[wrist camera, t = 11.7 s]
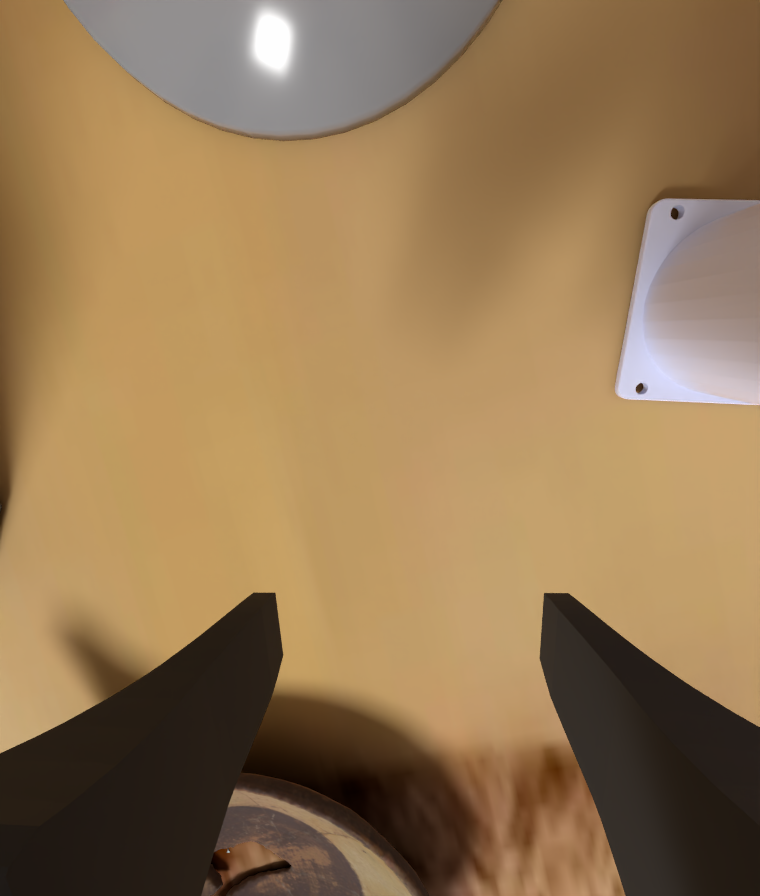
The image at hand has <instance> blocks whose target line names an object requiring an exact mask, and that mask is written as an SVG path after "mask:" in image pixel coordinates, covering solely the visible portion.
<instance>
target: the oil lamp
mask: <svg viewBox="0 0 760 896" xmlns="http://www.w3.org/2000/svg"><path fill="white" fill-rule="evenodd" d="M249 841H253V842H257V843H259V844H261V845H263V846H265V848H266V849H269V850H271V851H272V852H273V853H274V854H276V855H277V856H278V857H279V858H282V859H284V860H286V861H287V862H288V863H289V864H290V865H291V867H289V868H282V869H277V870H275V871H269V870H268V871H267V872H262V873H258V874H256V875H254V876H249V877H248V878H247V879H244V880H242V882H241V883H240V884H238V885H234V886H233V887H232V888H231V889H230V890H229V891H228V893H227V895H226V896H429V895H428V892H427V890H426V888H425V887H424V885H423V883H422V882H421V880H420V879H419V876H418V875H417V874H416V872H415V871H414V870H413V868H412V867H411V866H410V865H409V864H408V862H407V861H406V860H405V859H404V858H403V857H402V855H401V854H399V852H398V851H397V850H396V849H395V848H394V847H393V846H392V845H391V844H390V843H389V842H388V841H387V840H386V839H385V838H384V837H383V836H382V835H380V834H379V833H378V832H377V831H376V830H375V829H374V828H373V827H372V826H371V825H370V824H369V823H368V822H367V821H366V820H364V819H363V818H361V817H360V816H359V815H358V814H357V813H355V812H354V811H352V810H351V809H350V808H348V807H346V806H344V805H342V804H340V803H338V802H336V801H334V800H332V799H330V798H329V797H327V796H325V795H323V794H320V793H318V792H316V791H314V790H312V789H309V788H307V787H304V786H301V785H298V784H296V783H292V782H288V781H286V780H281V779H278V778H273V777H269V776H264V775H257V774H250V773H240V776H239V778H238V781H237V783H236V786H235V789H234V791H233V794H232V797H231V800H230V802H229V805H228V808H227V812H226V815H225V818H224V821H223V825H222V828H221V831H220V834H219V837H218V841H217V844H216V847H215V850H214V852H216V851H217V850H219V849H224V848H229V847H234V846H235V845H237V844H240V843H244V842H249ZM227 853H230V851H229V850H228V851H227ZM222 885H223V882H222V880H221V875H220V874H219V873H218V872H217V871H216V870H215V869H214V867H213V864H210V867H209V871H208V874H207V878H206V881H205V884H204V888H203V891H202V895H201V896H211V895H214V894H215V892H216V891H217V890H218V889H219V888H220V887H221V886H222Z"/></svg>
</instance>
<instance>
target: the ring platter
mask: <svg viewBox="0 0 760 896" xmlns="http://www.w3.org/2000/svg"><path fill="white" fill-rule="evenodd" d="M501 1H502V0H64V2H65V3H66V5H67V6H68V8H69V9H70V10H71V12H72V13H73V14H74V15H75V16H76V18H77V19H78V20H79V21H80V23H81V24H82V25H83V26H84V28H85V29H86V30H87V31H88V33H89V34H90V35H91V36H92V38H93V39H94V40H95V41H96V42H97V43H98V44H99V45H100V46H101V47H102V48H103V49H104V50H105V51H106V52H107V53H108V54H109V55H110V56H111V57H112V58H113V59H114V60H115V61H116V62H117V63H119V64H120V65H121V66H122V67H123V68H124V69H125V70H126V71H127V72H128V73H129V74H130V75H131V76H132V77H134V78H135V79H136V80H137V81H138V82H139V83H141V84H142V85H143V86H145V87H146V88H147V89H148V90H150V91H151V92H152V93H154V94H155V95H156V96H158V97H159V98H160V99H161V100H163V101H164V102H166V103H167V104H169V105H171V106H172V107H174V108H176V109H178V110H179V111H181V112H183V113H184V114H186V115H188V116H190V117H191V118H193V119H195V120H198V121H200V122H203V123H205V124H208V125H210V126H213V127H215V128H217V129H220V130H222V131H226V132H230V133H234V134H238V135H242V136H246V137H250V138H256V139H268V140H279V141H292V140H308V139H317V138H322V137H327V136H331V135H336V134H340V133H345V132H348V131H350V130H353V129H356V128H358V127H361V126H363V125H366V124H369V123H371V122H374V121H376V120H378V119H380V118H382V117H384V116H385V115H387V114H389V113H391V112H392V111H394V110H396V109H398V108H400V107H401V106H403V105H405V104H407V103H408V102H409V101H411V100H412V99H413V98H415V97H416V96H417V95H419V94H420V93H421V92H422V91H424V90H425V89H426V88H428V87H429V86H430V85H432V84H433V83H434V82H435V81H436V80H438V79H439V78H440V77H441V76H442V75H443V74H444V73H445V72H446V71H447V70H448V69H449V68H450V67H451V66H452V65H453V64H454V63H455V62H456V61H457V60H458V59H459V58H460V57H461V56H462V55H463V54H464V52H465V51H466V50H467V49H468V47H469V46H470V45H471V44H472V42H473V41H474V40H475V39H476V37H477V36H478V35H479V34H480V32H481V31H482V30H483V29H484V27H485V26H486V25H487V23H488V22H489V20H490V19H491V17H492V15H493V14H494V12H495V11H496V9H497V8H498V6H499V4H500V3H501Z"/></svg>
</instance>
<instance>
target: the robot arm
mask: <svg viewBox="0 0 760 896" xmlns="http://www.w3.org/2000/svg"><path fill="white" fill-rule="evenodd" d="M672 208H676V209H677V210H678V213H679V215H678V218H677V219H676V220H675V219H673V218H672V217H671V210H672ZM639 383H642V384H643V389H642V391H641V392H639V393H637V392H636V386H637V385H638V384H639ZM615 392H616V394H617V395H618V396H619V397H621V398H625V399H636V400H658V401H680V402H702V403H724V404H746V405H760V200H722V199H670V198H666V199H661V200H659V201H657V202H656V203H654V204H653V205H652V206H651V207H650V208H649V210H648V213H647V217H646V222H645V227H644V233H643V238H642V244H641V249H640V254H639V260H638V265H637V270H636V276H635V281H634V287H633V292H632V297H631V303H630V308H629V313H628V319H627V324H626V330H625V335H624V340H623V346H622V351H621V356H620V362H619V367H618V372H617V378H616V383H615ZM282 658H283V650H282V642H281V634H280V626H279V619H278V611H277V603H276V595H275V593H253V594H251V595H250V596H249V597H247V598H246V599H245V600H244V601H242V602H241V603H240V604H239V605H237V606H236V607H235V608H234V609H232V610H231V611H230V612H229V613H228V614H226V615H225V616H224V617H223V618H221V619H220V620H219V621H218V622H216V623H215V624H214V625H213V626H211V627H210V628H209V629H208V630H206V631H205V632H204V633H203V634H202V635H200V636H199V637H198V638H196V639H195V640H194V641H192V642H191V643H190V644H188V645H187V646H186V647H184V648H183V649H182V650H180V651H179V652H178V653H176V654H175V655H174V656H172V657H171V658H169V659H168V660H167V661H165V662H164V663H163V664H161V665H160V666H158V667H157V668H155V669H154V670H153V671H151V672H150V673H148V674H147V675H145V676H144V677H142V678H141V679H139V680H137V681H136V682H134V683H133V684H131V685H129V686H128V687H126V688H125V689H123V690H121V691H120V692H118V693H116V694H115V695H113V696H111V697H110V698H108V699H106V700H104V701H103V702H101V703H99V704H97V705H95V706H94V707H92V708H90V709H88V710H86V711H85V712H83V713H81V714H79V715H77V716H75V717H74V718H72V719H70V720H68V721H66V722H65V723H63V724H61V725H59V726H57V727H55V728H53V729H51V730H49V731H47V732H45V733H43V734H41V735H39V736H37V737H35V738H32V739H30V740H28V741H26V742H24V743H22V744H20V745H17V746H15V747H13V748H11V749H9V750H7V751H4V752H2V753H0V896H201V895H202V891H203V888H204V884H205V881H206V878H207V874H208V871H209V867H210V864H211V860H212V857H213V854H214V850H215V847H216V844H217V841H218V837H219V834H220V831H221V828H222V825H223V821H224V818H225V815H226V812H227V808H228V805H229V802H230V800H231V797H232V794H233V791H234V789H235V786H236V783H237V781H238V778H239V776H240V773H241V771H242V768H243V766H244V763H245V761H246V759H247V756H248V754H249V751H250V749H251V746H252V744H253V741H254V739H255V736H256V734H257V732H258V729H259V727H260V724H261V722H262V719H263V717H264V714H265V712H266V709H267V707H268V704H269V702H270V699H271V696H272V694H273V691H274V687H275V684H276V680H277V677H278V673H279V669H280V665H281V661H282ZM540 661H541V665H542V668H543V672H544V676H545V679H546V683H547V686H548V689H549V693H550V696H551V699H552V701H553V704H554V706H555V709H556V711H557V714H558V716H559V719H560V721H561V723H562V726H563V728H564V731H565V733H566V735H567V738H568V740H569V742H570V745H571V747H572V749H573V752H574V754H575V757H576V759H577V761H578V764H579V766H580V768H581V771H582V773H583V776H584V778H585V780H586V783H587V785H588V787H589V790H590V792H591V794H592V797H593V800H594V802H595V805H596V808H597V810H598V813H599V815H600V818H601V821H602V824H603V827H604V830H605V833H606V836H607V839H608V842H609V845H610V848H611V851H612V854H613V857H614V860H615V864H616V867H617V870H618V873H619V876H620V879H621V882H622V885H623V889H624V892H625V895H626V896H760V727H758V726H756V725H755V724H753V723H751V722H749V721H747V720H746V719H744V718H742V717H741V716H739V715H737V714H735V713H734V712H732V711H730V710H728V709H727V708H725V707H724V706H722V705H720V704H719V703H717V702H716V701H714V700H712V699H711V698H709V697H708V696H706V695H704V694H703V693H701V692H699V691H698V690H696V689H695V688H693V687H692V686H690V685H689V684H687V683H686V682H684V681H683V680H681V679H680V678H678V677H677V676H675V675H674V674H672V673H671V672H670V671H668V670H667V669H665V668H664V667H662V666H661V665H660V664H658V663H657V662H655V661H654V660H653V659H651V658H650V657H648V656H647V655H646V654H644V653H643V652H642V651H640V650H639V649H638V648H636V647H635V646H634V645H632V644H631V643H630V642H629V641H627V640H626V639H625V638H623V637H622V636H621V635H620V634H618V633H617V632H616V631H615V630H613V629H612V628H611V627H610V626H608V625H607V624H606V623H605V622H603V621H602V620H601V619H600V618H598V617H597V616H596V615H595V614H594V613H592V612H591V611H590V610H589V609H587V608H586V607H585V606H584V605H583V604H581V603H580V602H579V601H578V600H576V599H575V598H574V597H572V596H571V595H570V594H568V593H544V602H543V617H542V633H541V648H540Z"/></svg>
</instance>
